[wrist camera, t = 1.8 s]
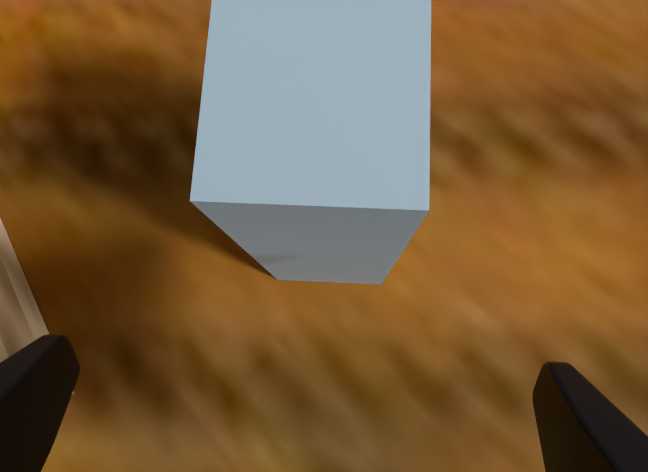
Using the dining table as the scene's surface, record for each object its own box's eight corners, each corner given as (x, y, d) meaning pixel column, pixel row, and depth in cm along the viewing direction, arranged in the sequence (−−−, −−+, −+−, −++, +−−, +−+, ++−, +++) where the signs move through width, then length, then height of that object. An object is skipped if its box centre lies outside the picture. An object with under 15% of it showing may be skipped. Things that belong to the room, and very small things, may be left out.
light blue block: (381, 284, 21) (429, 210, 9) (277, 279, 22) (189, 201, 9) (384, 174, 22) (431, -26, 10) (285, 170, 23) (215, -29, 10)
